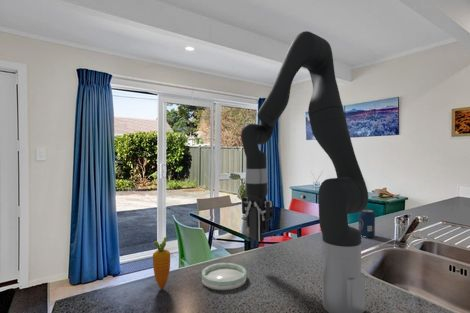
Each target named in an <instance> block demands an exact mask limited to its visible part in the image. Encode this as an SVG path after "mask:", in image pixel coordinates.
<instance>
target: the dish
mask: <svg viewBox="0 0 470 313" xmlns="http://www.w3.org/2000/svg"><path fill="white" fill-rule="evenodd" d="M247 277H248V272H247V270H246V268H245V267H244V266H242V265H241V264H240V265H239V264H238V263H231V262H218V263H217V262H216V263H213V264H210V265H207V266H206V267H205V268H203V269H202V270H201V283H202V284H203V285H204V287H207V288H209V289H211V290H217V291H228V290H235V289H237V288H238V289H239V288H240V287H242V286H244V284H246V282H247Z"/></svg>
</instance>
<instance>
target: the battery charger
mask: <svg viewBox="0 0 470 313" xmlns="http://www.w3.org/2000/svg"><path fill="white" fill-rule="evenodd" d="M261 211H265V210H264V208H262V209H261ZM263 214H264V216H265V213H263ZM248 237H249V238H250V239H252V240H254V241H256V242H263V241H264V240H265V238H264V236H263V234H262V218H261V214H260V213H259V209H258V208H257V207H255V206H251V208H250V211H249V227H248Z"/></svg>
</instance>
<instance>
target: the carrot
mask: <svg viewBox="0 0 470 313" xmlns="http://www.w3.org/2000/svg"><path fill="white" fill-rule="evenodd" d="M167 238H168V237H166V236H165V237H163V240H162V242H161V243H160V244H159V241H158V240H155V241H154V242H153V244H154V246H155V247H156V249H157V250H156V251H154V253H152V265H153V266H152V267H153V274H154V275H153V276H154V278H155V281H156V284H157V285H158V287H159V289H161V290H163V289H164V288H165V286H166V285H167V282H168V279H169V275H170V270H171V252H170V251H169V250H167V249H166V248H165V247H166V245H167Z"/></svg>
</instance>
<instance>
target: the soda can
mask: <svg viewBox="0 0 470 313" xmlns="http://www.w3.org/2000/svg"><path fill="white" fill-rule="evenodd" d="M358 230H359V231H360V233H361V235H362V236H366V237H372V238H374V237H375V235H376V214H375V213H374V210H373V209H367V208H365V209H364V210H363V211H361V212H358ZM373 236H374V237H373Z"/></svg>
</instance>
